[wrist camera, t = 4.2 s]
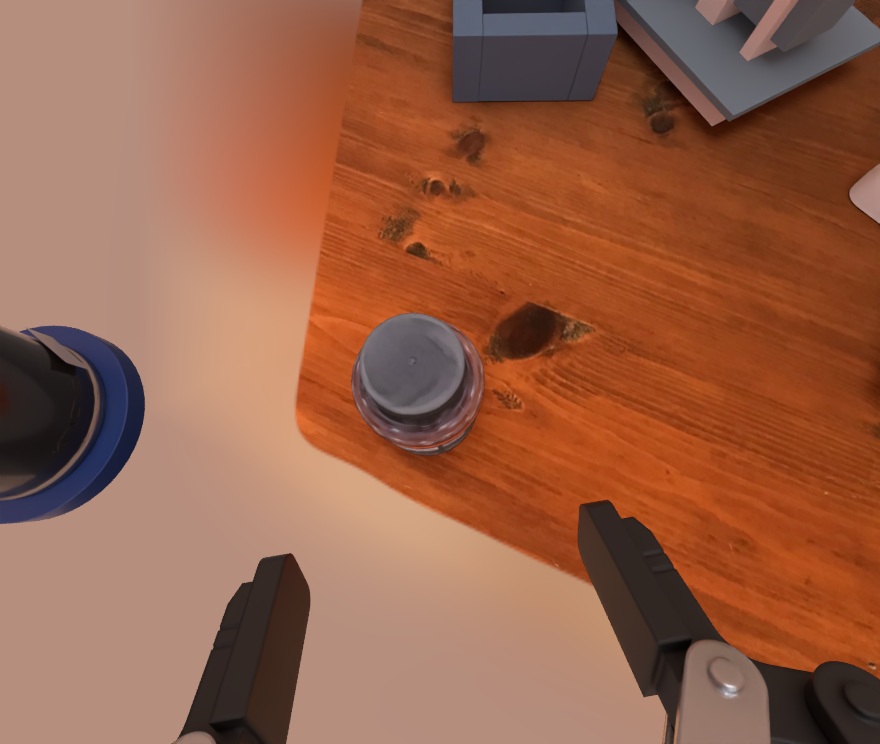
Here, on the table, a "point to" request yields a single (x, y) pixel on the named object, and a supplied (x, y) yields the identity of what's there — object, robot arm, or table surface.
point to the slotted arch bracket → (868, 193)
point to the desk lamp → (745, 46)
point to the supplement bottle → (418, 383)
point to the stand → (530, 49)
